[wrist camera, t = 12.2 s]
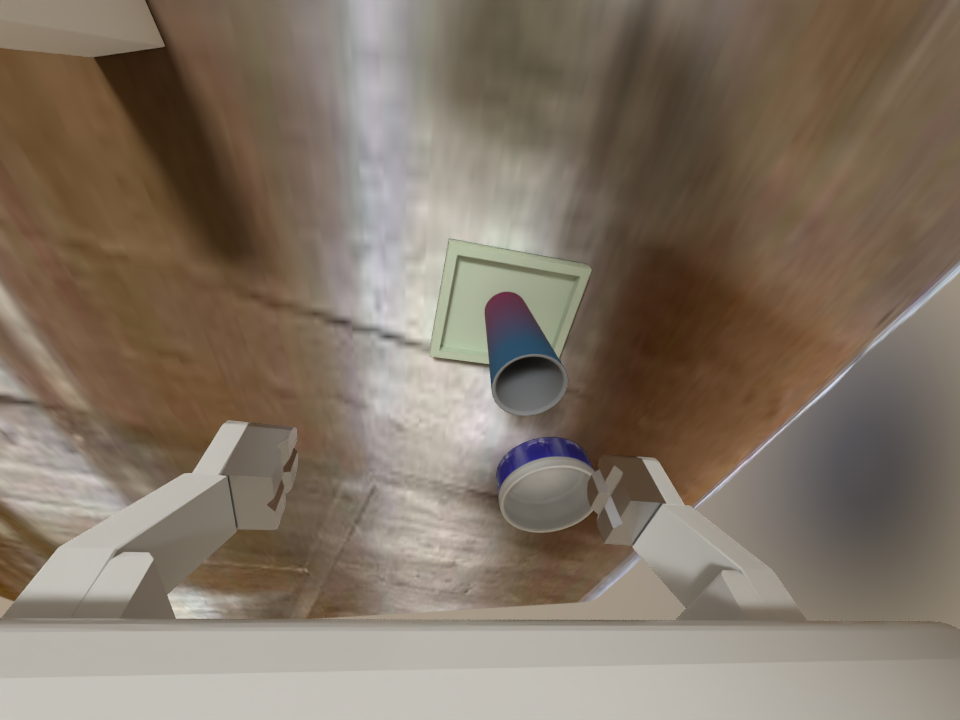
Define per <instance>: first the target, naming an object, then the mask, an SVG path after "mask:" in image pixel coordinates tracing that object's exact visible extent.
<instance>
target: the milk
mask: <svg viewBox="0 0 960 720" xmlns="http://www.w3.org/2000/svg"><path fill="white" fill-rule="evenodd" d="M160 47H165V45H164V42H163V40H162V38H161V36H160V33H159V31H158V29H157V26H156V24H155V22H154V19H153V17H152V15H151V13H150V10H149V8H148V6H147V3H146V1H145V0H0V48H7V49H17V50H27V51H37V52H47V53H57V54H67V55H77V56H86V57H98V56H105V55H112V54H119V53H126V52H133V51H139V50H146V49H153V48H160Z"/></svg>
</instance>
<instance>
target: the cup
mask: <svg viewBox="0 0 960 720" xmlns="http://www.w3.org/2000/svg"><path fill="white" fill-rule="evenodd" d="M485 324H486V335H487V345H488V356H489V367H490V377H491V388H492V395H493V398H494V400H495V402H496V403H497V404H498V406H499V407H500V408H502V409H503V410H504V411H506V412H508V413H510V414H514V415H519V416H531V415H536V414H540V413H542V412H545V411H547V410H549V409H550V408H552V407H553V406H555V405H556V404H557V403H558V402H559V401H560V400H561V398H562V397H563V395H564V394H565V391H566V389H567V384H568V376H567V373H566V370H565V368H564V367H563V365H562V363H561V362H560V360H559V358H558V357H557V355H556V353H555V352H554V350H553V348H552V347H551V345H550V343H549V342H548V340H547V338H546V337H545V335H544V333H543V332H542V330H541V328H540V326H539V325H538V323H537V321H536V320H535V318H534V316H533V315H532V313H531V311H530V310H529V308H528V306H527V305H526V303H525V301H524V300H523V298H522V297H521V296H519V295H518V294H516V293H513V292H501V293H498V294H496V295H494V296H493V297H492V298H491V299H490V300H489V301H488V302H487V304H486V306H485Z"/></svg>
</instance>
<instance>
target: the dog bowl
mask: <svg viewBox="0 0 960 720" xmlns="http://www.w3.org/2000/svg"><path fill="white" fill-rule="evenodd" d="M594 472H595V471H594V469H593V466H592V464H591V462H590V460H589V458H588V456H587V454H586V453H585V451H584V450H583V449H582V448H581V447H580V446H579V445H578V444H576V443H574V442H572V441H570V440H567V439H563V438H558V437H543V438H537V439H533V440H530V441H527V442H524V443H522V444H520V445H518V446H517V447H515V448H513V449H512V450H511V451H509V452H508V453H507V454H506V455H505V456H504V457H503V459H502V460H501V462H500V464H499V466H498V468H497V473H496V480H497V490H498V498H499V506H500V511H501V513H502V516H503V517H504V519H505V520H506V521H507V522H508V523H509V524H511V525H512V526H514V527H516V528H518V529H520V530H524V531H528V532H536V533H544V532H553V531H558V530H562V529H565V528H568V527H570V526H573V525H575V524H577V523H579V522H580V521H582V520H583V519H585V518H586V517H587V516H588V515H589V514H590V513H591V512H592V511H593V509H592V508H591V507H590V504H589V501H588V497H587V485H588V481H589V479H590V476H591V474H593V473H594Z"/></svg>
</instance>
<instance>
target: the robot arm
mask: <svg viewBox="0 0 960 720" xmlns="http://www.w3.org/2000/svg"><path fill="white" fill-rule="evenodd" d="M296 440H297V431H296V428H295V427H289V426H280V425H271V424H262V423H253V422H251V423H249V422H240V421H231V420H228V421H227V422H225V423H224V424H223V425H222V426H221V428H220V429H219V431H218V433H217V434H216V436H215V437H214V439H213V441H212V442H211V444H210V445H209V447H208V449H207V450H206V452H205V453H204V455H203V457H202V458H201V460H200V461H199V463H198V465H197V466H196V468H195V469H194V471H193V473H184V474H182V475H181V476H179V477H177V478H176V479H174V480H172V481H170V482H169V483H167V484H165V485H164V486H162V487H160V488H159V489H157V490H155V491H153V492H152V493H150V494H148V495H147V496H145V497H143V498H142V499H140V500H138V501H137V502H135V503H133V504H131V505H130V506H128V507H126V508H125V509H123V510H121V511H120V512H118V513H116V514H114V515H113V516H111V517H109V518H108V519H106V520H104V521H103V522H101V523H99V524H98V525H96V526H94V527H92V528H91V529H89V530H87V531H86V532H84V533H82V534H81V535H79V536H77V537H75V538H74V539H72V540H70V541H69V542H67V543H65V544H64V545H62V546H60V547H59V548H58V549H57V550H56V551H55V553H54V554H53V555H52V556H51V557H50V559H49V560H48V561H47V562H46V564H45V565H44V566H43V567H42V568H41V570H40V571H39V572H38V573H37V575H36V576H35V577H34V578H33V580H32V581H31V582H30V583H29V584H28V586H27V587H26V588H25V589H24V591H23V592H22V593H21V594H20V595H19V597H18V598H17V599H16V600H15V602H14V603H13V604H12V605H11V607H10V608H9V609H8V610H7V612H6V613H5V614H4V615H3V616H2V618H0V720H960V629H958V628H956V627H954V626H952V625H949V624H946V623H942V622H935V621H807V619H806V618H805V616H804V615H803V613H802V612H801V611H800V609H799V608H798V606H797V605H796V603H795V602H794V600H793V599H792V598H791V596H790V595H789V593H788V592H787V590H786V589H785V587H784V586H783V584H782V583H781V582H780V580H779V579H778V577H777V576H776V574H775V573H774V572H773V571H772V570H771V569H770V568H769V567H768V566H766V565H765V564H764V563H762V562H761V561H760V560H759V559H757V558H756V557H755V556H754V555H752V554H751V553H750V552H748V551H747V550H746V549H745V548H743V547H742V546H740V545H739V544H738V543H737V542H736V541H734V540H733V539H732V538H731V537H729V536H728V535H727V534H725V533H724V532H723V531H721V530H720V529H719V528H718V527H716V526H715V525H714V524H713V523H711V522H710V521H709V520H708V519H706V518H705V517H704V516H702V515H701V514H700V513H699V512H697V511H696V510H695V509H693V508H692V507H691V506H689V505H684V503H683V501H682V500H681V498H680V496H679V495H678V493H677V491H676V490H675V488H674V486H673V485H672V483H671V481H670V480H669V478H668V476H667V475H666V473H665V471H664V470H663V468H662V466H661V465H660V463H659V461H658V460H656V459H655V458H651V457H635V456H624V455H611V454H604V455H603V456H601V457H600V459H599V461H598V463H597V464H598V467H599V470H597V471H596V472H594V473H593V474H591V476H590V479H589V481H588V485H587V497H588V501H589V504H590V507H591V508H592V509H593V510H594V511H595V512H596V513H597V514H598V517H597V520H596V523H597V526H598V529H599V531H600V534H601V537H602V539H603V542H604V544H616V545H630V546H633V547H632V548H633V549H634V550H635V551H636V552H637V553H638V554H639V555H640V557H641V558H642V559H643V560H644V561H645V562H646V563H647V564H648V566H649V567H650V568H651V569H652V570H653V571H654V572H655V574H656V575H657V576H658V577H659V578H660V579H661V580H662V581H663V583H664V584H665V585H666V586H667V587H668V588H669V589H670V591H671V592H672V593H673V594H674V595H675V596H676V597H677V598H678V600H679V601H680V602H681V603H682V604H683V605H684V606H685V607H686V609H685V610H684V612H682V614H681V615H680V616H679V617H678V618H677V619H676V620H420V619H419V620H417V619H415V620H414V619H411V620H410V619H408V620H405V619H402V620H401V619H395V620H394V619H377V620H376V619H176V618H175V615H174V613H173V610H172V607H171V604H170V602H169V599H168V596H167V594H168V593H170V592H171V591H172V590H173V589H174V588H175V587H176V586H177V585H178V584H179V583H181V582H182V581H183V580H184V579H185V578H186V577H187V576H188V575H189V574H190V573H192V572H193V571H194V570H195V569H196V568H197V567H198V566H199V565H200V564H201V563H203V562H204V561H205V560H206V559H207V558H208V557H209V556H210V555H211V554H212V553H214V552H215V551H216V550H217V549H218V548H219V547H220V546H221V545H222V544H223V543H225V542H226V541H227V540H228V539H229V538H230V537H231V536H232V535H233V534H234V533H236V532H237V530H236V529H258V530H277V527H278V525H279V522H280V519H281V516H282V514H283V511H284V508H285V494H286V493H287V492H289V491H290V490H291V488H292V485H293V482H294V479H295V474H296V470H297V461H298V451H297V450H296V449H295V448H294V445H295V443H296Z"/></svg>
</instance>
